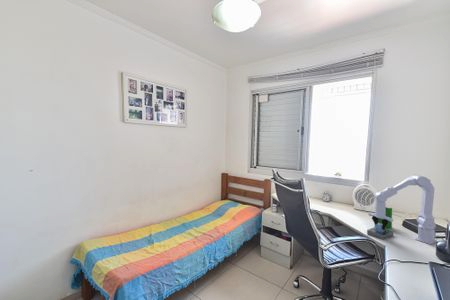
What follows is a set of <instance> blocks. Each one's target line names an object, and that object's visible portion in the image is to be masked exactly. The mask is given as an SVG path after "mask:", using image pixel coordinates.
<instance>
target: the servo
mask: <svg viewBox="0 0 450 300" xmlns="http://www.w3.org/2000/svg"><path fill="white" fill-rule="evenodd" d="M374 227H375V230H376V231H379V232H382V233H383V232H385V230H383V229H382V224H381V223H377V224H374ZM374 227H373V228H374Z"/></svg>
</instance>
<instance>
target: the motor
mask: <svg viewBox="0 0 450 300" xmlns="http://www.w3.org/2000/svg"><path fill="white" fill-rule="evenodd" d="M385 216H386V217H389V218H392V219H393V207H386V209H385ZM382 220H383V219H380V218H379V220H378V223H381V224H382ZM392 228H393V222H390V221H389V222H388V224H387V225H386V228H385V229H392Z"/></svg>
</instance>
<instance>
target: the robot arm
mask: <svg viewBox="0 0 450 300" xmlns="http://www.w3.org/2000/svg"><path fill="white" fill-rule="evenodd" d="M409 186H418V187H419V188H420V189H422V195H421V196H422V197H421V208H420V212H419V213H418V216H417V217H416V222H417V224H418V225H417V231H418V232H417V237H416V238H415V240H416V241H418V242H419V241H420V242H422V243H425V244H429V245H433V244H435V243H437V242H438V241H437V239H436V231H435V228H436V227H437V225H436V223H435V217H434V215H433V211H434V210H433V208H434V207H433V206H434V198H435V186H434V185H433V184H432V182H431V180H430V178H427V176H423V175H419V174H412V175H411V176H408V177H407V178H405V179H404V180H403V181H400V182H399V183H398V184H395V185H394V186H387V187H386V188H385V189H383V190H380V191H379V192H376V193H375V194H374V196H373V197H374V198H375V202H374V203H375V207H374V208H375V209H374V210H375V213H374V212H373V213H372V212H368V216H369V217H371V219H372V221H373V224H374V225H375V224H377V223H378V220H379V218H380V219H383V220H382V229H383V230H385V229H387V228H386V225H387V224H388V222H389V221H390V222H392V223H394V218H393V217H392V218H389V217H386V216H385V209H386V202H387V200H388V199H389V198H392V197H394V196H396V195H397V194H398V191H400V190H402V189H405V188H407V187H409Z"/></svg>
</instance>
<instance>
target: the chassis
mask: <svg viewBox="0 0 450 300" xmlns="http://www.w3.org/2000/svg"><path fill="white" fill-rule="evenodd" d="M394 232H395V231H394V230H391V229H389V228H385V232H383V233H382V232H379V231H376V230H375V227H372V228H369V229H367V230H366V234H367V235H368V236H371V237H375V238H377V239H381V240H383V241H384V240H386V239H388V238H391V237H393V236H394Z"/></svg>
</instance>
